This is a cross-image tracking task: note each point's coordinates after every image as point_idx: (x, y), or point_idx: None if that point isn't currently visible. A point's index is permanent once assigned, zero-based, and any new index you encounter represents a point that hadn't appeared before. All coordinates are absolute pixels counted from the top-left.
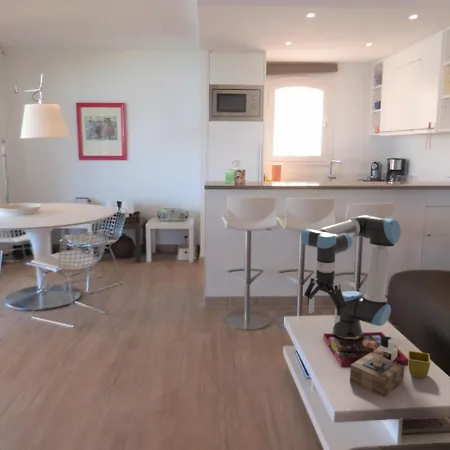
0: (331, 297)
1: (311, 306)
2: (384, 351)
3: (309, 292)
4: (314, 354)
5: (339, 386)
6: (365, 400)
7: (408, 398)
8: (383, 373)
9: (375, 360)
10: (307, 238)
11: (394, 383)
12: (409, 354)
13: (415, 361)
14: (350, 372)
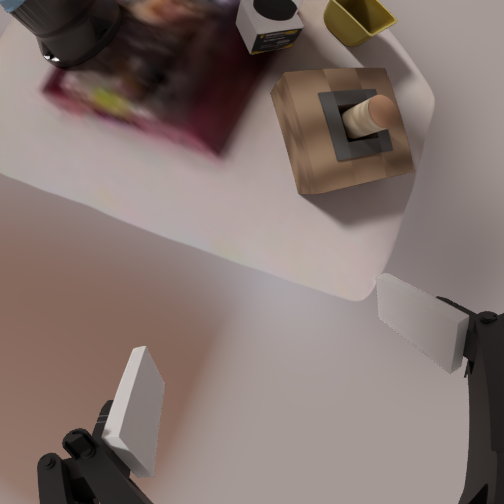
0: (474, 455)
1: (153, 410)
2: (283, 29)
3: (65, 487)
4: (117, 189)
5: (303, 237)
6: (375, 221)
7: (405, 130)
8: (394, 148)
9: (373, 132)
10: None
11: None
12: (332, 4)
13: (379, 32)
14: (308, 193)
